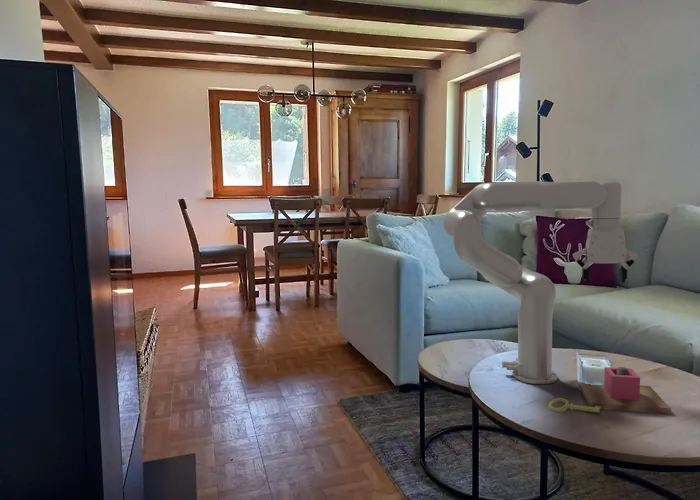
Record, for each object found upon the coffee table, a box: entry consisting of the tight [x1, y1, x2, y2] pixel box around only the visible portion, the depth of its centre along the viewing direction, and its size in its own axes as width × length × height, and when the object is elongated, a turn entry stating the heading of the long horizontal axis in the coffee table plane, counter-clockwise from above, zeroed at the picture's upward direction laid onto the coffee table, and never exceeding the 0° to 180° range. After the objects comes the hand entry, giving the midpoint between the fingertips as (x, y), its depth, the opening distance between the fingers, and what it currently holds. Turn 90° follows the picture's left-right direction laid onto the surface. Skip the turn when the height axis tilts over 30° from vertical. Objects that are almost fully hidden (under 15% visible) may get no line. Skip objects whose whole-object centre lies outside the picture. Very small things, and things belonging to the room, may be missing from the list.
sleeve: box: [603, 366, 641, 400], centre depth 126 cm, size 7×7×6 cm
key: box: [547, 397, 601, 414], centre depth 123 cm, size 7×12×2 cm, turn 73°
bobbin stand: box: [578, 366, 672, 415], centre depth 126 cm, size 18×14×8 cm
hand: (604, 281), depth 141 cm, fingers open, 9 cm apart
